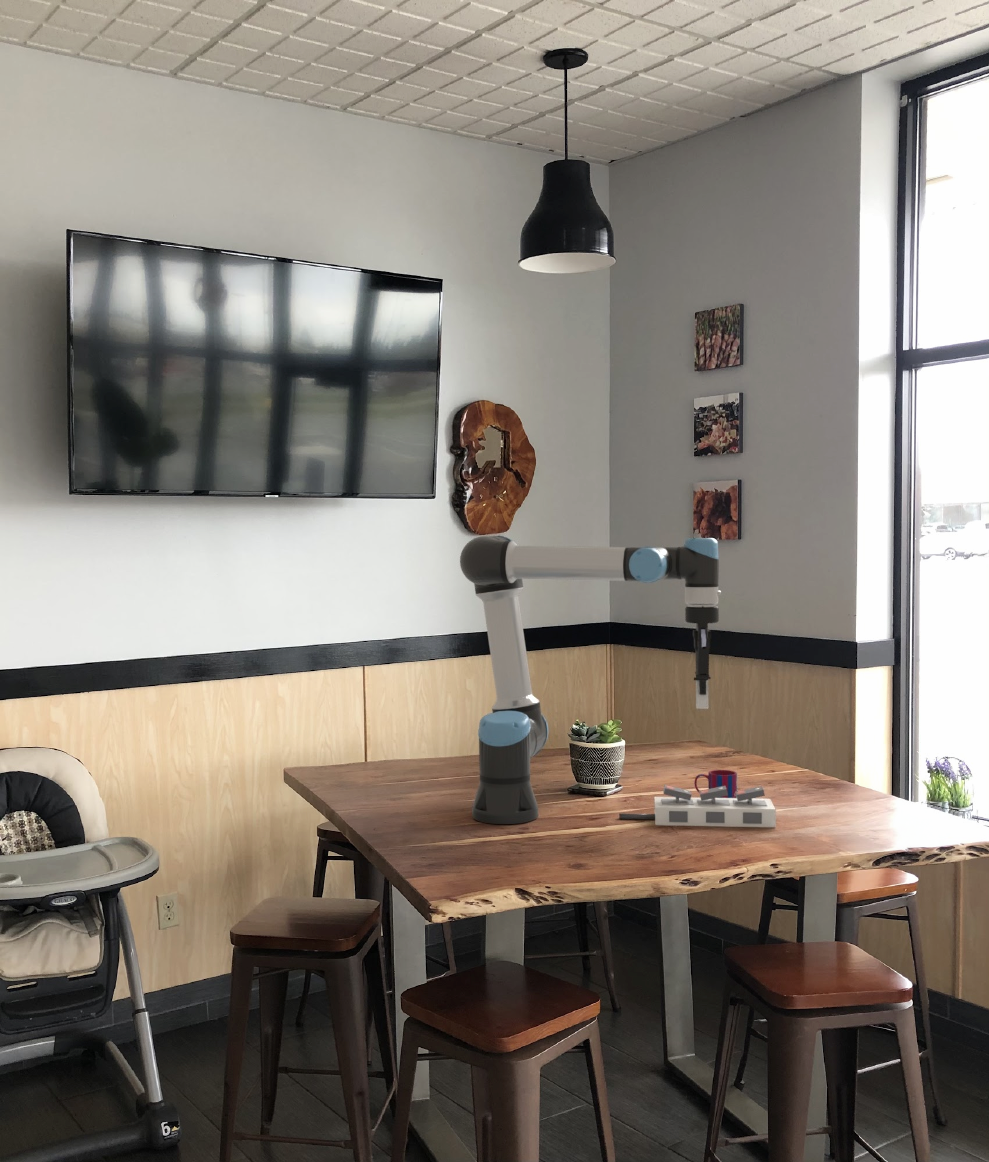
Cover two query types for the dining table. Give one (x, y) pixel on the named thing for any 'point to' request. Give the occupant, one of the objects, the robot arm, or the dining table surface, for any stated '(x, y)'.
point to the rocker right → (749, 793)
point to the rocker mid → (713, 793)
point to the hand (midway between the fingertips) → (702, 708)
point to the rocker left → (677, 792)
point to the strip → (710, 812)
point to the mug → (721, 781)
